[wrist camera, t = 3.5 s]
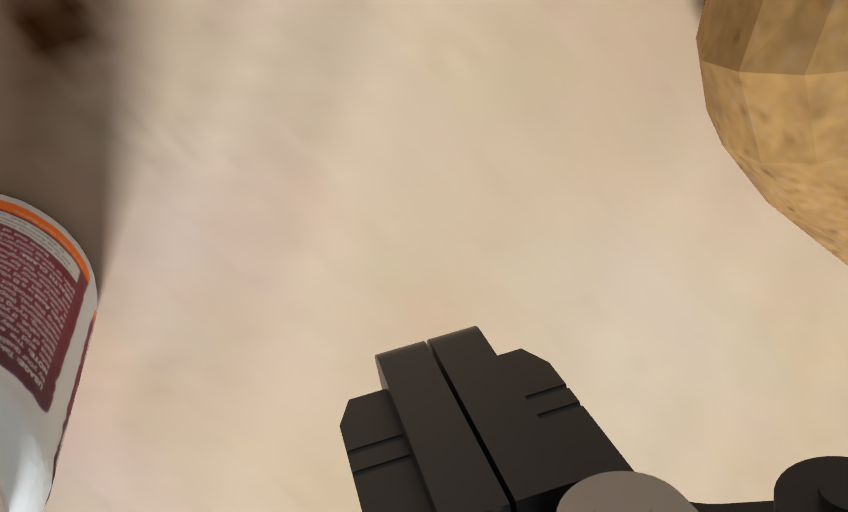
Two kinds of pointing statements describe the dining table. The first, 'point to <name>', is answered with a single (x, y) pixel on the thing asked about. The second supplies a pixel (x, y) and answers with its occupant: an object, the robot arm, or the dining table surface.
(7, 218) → the pill bottle
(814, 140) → the potato
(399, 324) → the dining table surface
